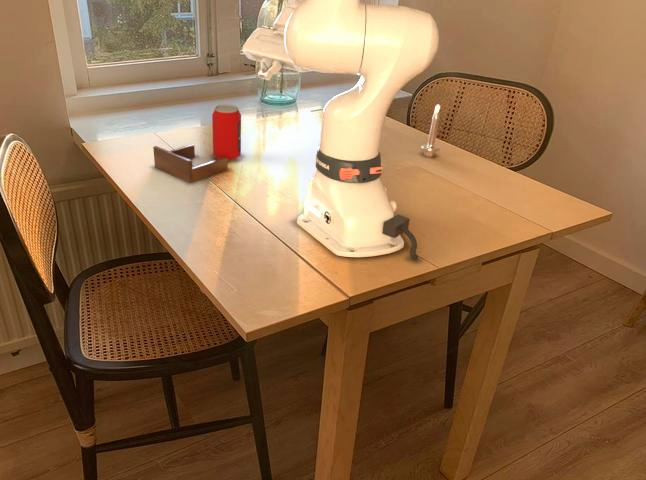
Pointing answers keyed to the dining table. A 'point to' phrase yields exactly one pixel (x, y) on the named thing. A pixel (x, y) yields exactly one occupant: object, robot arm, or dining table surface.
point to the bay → (186, 164)
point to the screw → (432, 135)
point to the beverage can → (226, 132)
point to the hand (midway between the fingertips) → (263, 77)
